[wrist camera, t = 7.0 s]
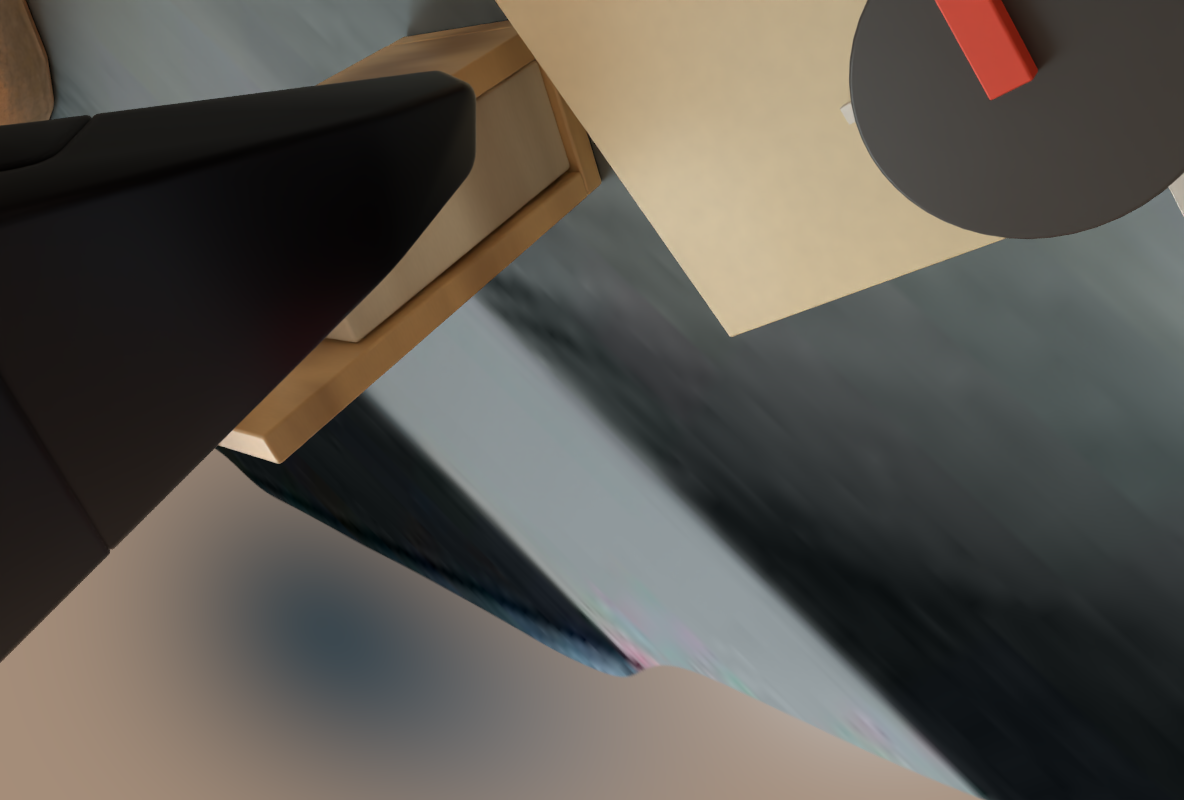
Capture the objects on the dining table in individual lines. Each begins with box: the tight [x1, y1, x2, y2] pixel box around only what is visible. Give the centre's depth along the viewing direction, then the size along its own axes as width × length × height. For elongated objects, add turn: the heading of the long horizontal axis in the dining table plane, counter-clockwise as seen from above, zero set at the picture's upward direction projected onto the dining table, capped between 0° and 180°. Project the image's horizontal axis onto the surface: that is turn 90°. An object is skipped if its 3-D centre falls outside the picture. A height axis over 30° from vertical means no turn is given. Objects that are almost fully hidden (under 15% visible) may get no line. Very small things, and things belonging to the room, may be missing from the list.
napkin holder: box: [218, 20, 601, 464], centre depth 23 cm, size 6×5×13 cm
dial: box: [849, 0, 1184, 239], centre depth 12 cm, size 4×4×4 cm
